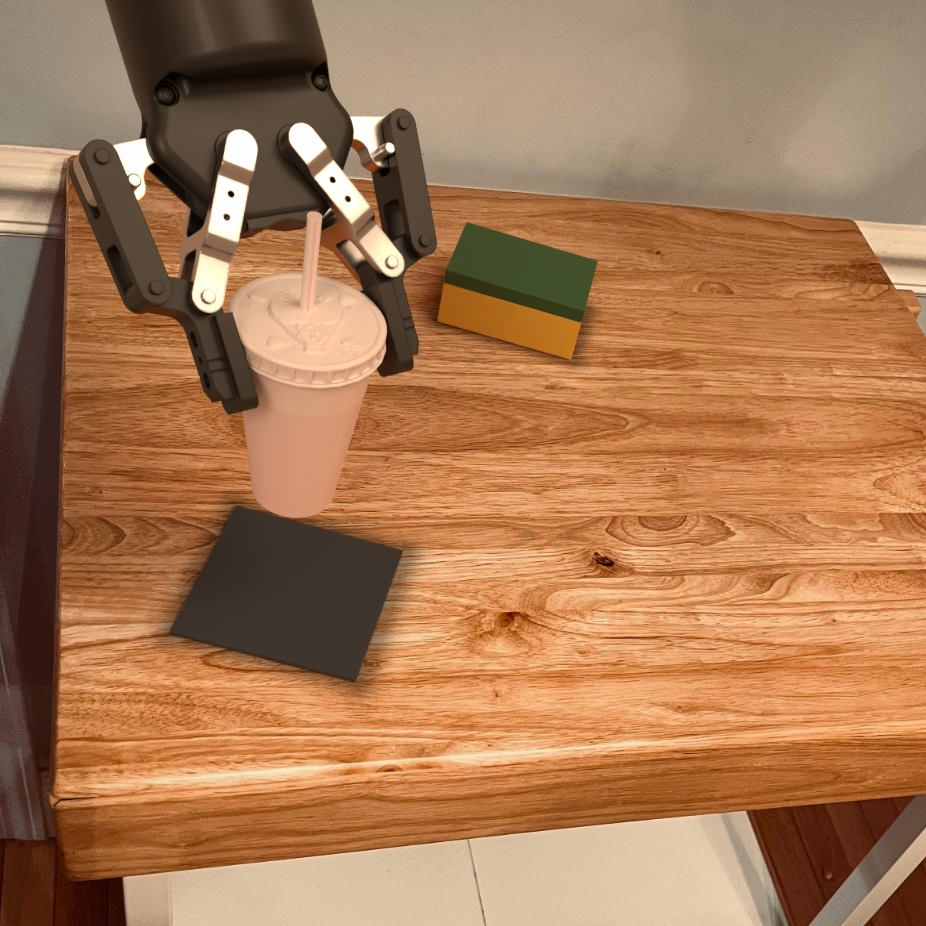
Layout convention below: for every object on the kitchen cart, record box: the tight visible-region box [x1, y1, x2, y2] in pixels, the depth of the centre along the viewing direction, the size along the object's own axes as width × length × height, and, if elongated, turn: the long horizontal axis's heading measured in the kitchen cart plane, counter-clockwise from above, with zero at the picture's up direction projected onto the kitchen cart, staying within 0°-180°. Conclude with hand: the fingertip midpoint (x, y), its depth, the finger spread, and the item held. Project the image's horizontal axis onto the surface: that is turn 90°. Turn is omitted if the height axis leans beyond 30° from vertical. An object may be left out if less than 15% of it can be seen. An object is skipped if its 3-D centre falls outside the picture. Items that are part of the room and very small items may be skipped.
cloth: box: [169, 504, 404, 683], centre depth 60 cm, size 9×9×1 cm
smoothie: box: [226, 212, 387, 519], centre depth 50 cm, size 6×6×14 cm
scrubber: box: [437, 221, 598, 361], centre depth 78 cm, size 9×6×4 cm, turn 83°
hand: (323, 390), depth 49 cm, fingers closed on smoothie, 6 cm apart
